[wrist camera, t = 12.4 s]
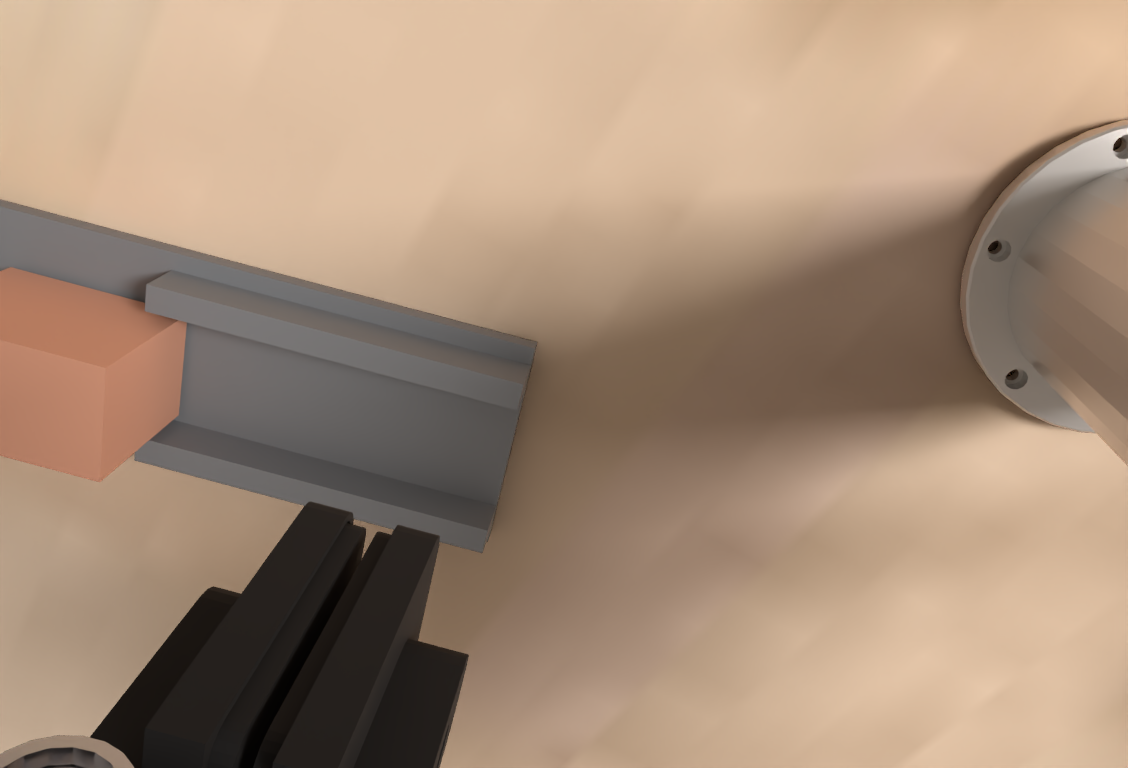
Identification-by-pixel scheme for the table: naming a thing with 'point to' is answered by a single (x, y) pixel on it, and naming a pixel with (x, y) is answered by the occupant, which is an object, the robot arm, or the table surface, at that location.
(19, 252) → the chute
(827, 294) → the table surface
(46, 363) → the block
